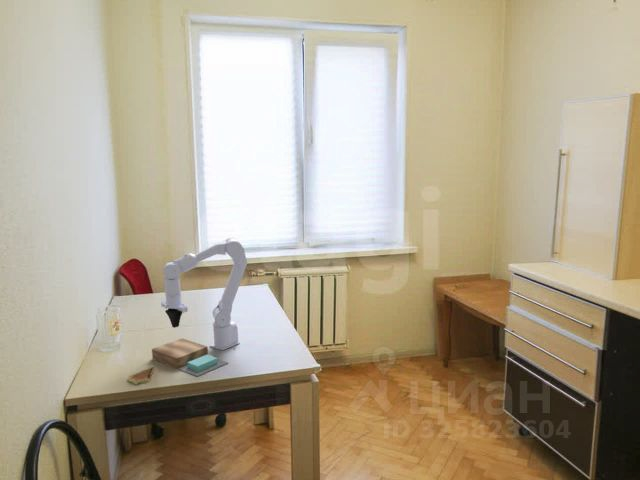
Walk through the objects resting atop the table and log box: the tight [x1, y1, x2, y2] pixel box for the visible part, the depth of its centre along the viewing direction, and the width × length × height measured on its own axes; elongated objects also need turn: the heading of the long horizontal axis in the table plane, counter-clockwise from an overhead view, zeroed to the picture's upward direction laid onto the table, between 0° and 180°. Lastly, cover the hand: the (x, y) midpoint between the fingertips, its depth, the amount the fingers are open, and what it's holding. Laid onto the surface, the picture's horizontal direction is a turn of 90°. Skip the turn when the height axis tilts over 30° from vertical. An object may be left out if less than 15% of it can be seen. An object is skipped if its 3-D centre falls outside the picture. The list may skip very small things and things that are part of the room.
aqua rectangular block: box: [187, 354, 219, 371], centre depth 183 cm, size 9×6×2 cm, turn 141°
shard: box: [126, 366, 154, 385], centre depth 176 cm, size 11×8×2 cm
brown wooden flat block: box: [151, 337, 209, 370], centre depth 192 cm, size 14×16×4 cm
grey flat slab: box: [177, 358, 229, 378], centre depth 183 cm, size 14×11×1 cm
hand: (175, 326), depth 197 cm, fingers closed
